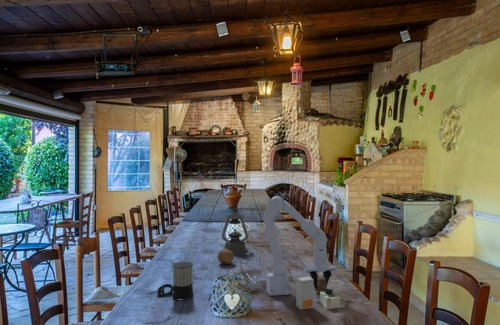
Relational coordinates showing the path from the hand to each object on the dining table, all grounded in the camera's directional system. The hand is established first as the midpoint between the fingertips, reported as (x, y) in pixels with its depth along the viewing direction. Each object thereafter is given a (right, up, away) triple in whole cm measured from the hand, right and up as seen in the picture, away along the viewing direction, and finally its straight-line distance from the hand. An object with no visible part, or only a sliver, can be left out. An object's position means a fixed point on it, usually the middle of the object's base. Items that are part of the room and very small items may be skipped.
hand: (320, 287), depth 175 cm
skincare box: (-9, -3, -16) cm, 19 cm away
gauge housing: (+2, -3, -13) cm, 14 cm away
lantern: (-42, -2, +82) cm, 92 cm away
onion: (-46, -2, +49) cm, 67 cm away
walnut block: (0, -2, 0) cm, 2 cm away
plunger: (+1, -2, -8) cm, 8 cm away
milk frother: (-66, -4, -2) cm, 66 cm away
